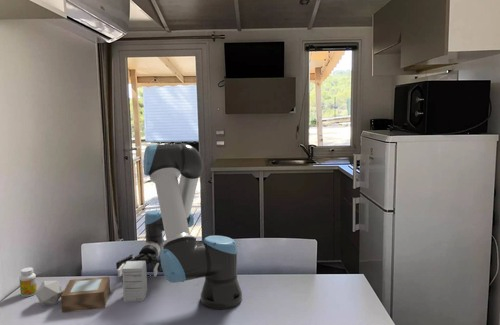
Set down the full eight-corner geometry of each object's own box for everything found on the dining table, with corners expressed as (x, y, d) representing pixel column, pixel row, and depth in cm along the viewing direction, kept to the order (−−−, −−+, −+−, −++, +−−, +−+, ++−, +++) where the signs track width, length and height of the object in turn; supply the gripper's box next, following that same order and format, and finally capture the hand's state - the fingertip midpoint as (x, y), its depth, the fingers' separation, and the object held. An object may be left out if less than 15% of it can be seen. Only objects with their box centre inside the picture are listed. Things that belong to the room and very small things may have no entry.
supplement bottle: (17, 296, 146) (15, 271, 144) (28, 289, 151) (26, 266, 150) (29, 297, 144) (27, 273, 143) (40, 291, 150) (38, 267, 148)
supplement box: (128, 292, 148) (126, 260, 147) (147, 291, 149) (146, 260, 147) (123, 301, 141) (121, 268, 139) (143, 301, 142) (142, 268, 140)
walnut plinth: (110, 291, 149) (109, 276, 148) (104, 308, 137) (103, 291, 136) (71, 294, 146) (70, 279, 146) (62, 312, 134) (60, 295, 133)
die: (45, 312, 135) (62, 288, 137) (25, 299, 136) (42, 274, 138) (56, 309, 143) (72, 286, 145) (37, 296, 144) (53, 273, 146)
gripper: (178, 260, 170) (169, 282, 149) (121, 261, 169) (104, 283, 148) (178, 244, 169) (169, 263, 148) (120, 245, 168) (103, 264, 147)
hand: (136, 273), depth 148 cm, fingers open, 13 cm apart
